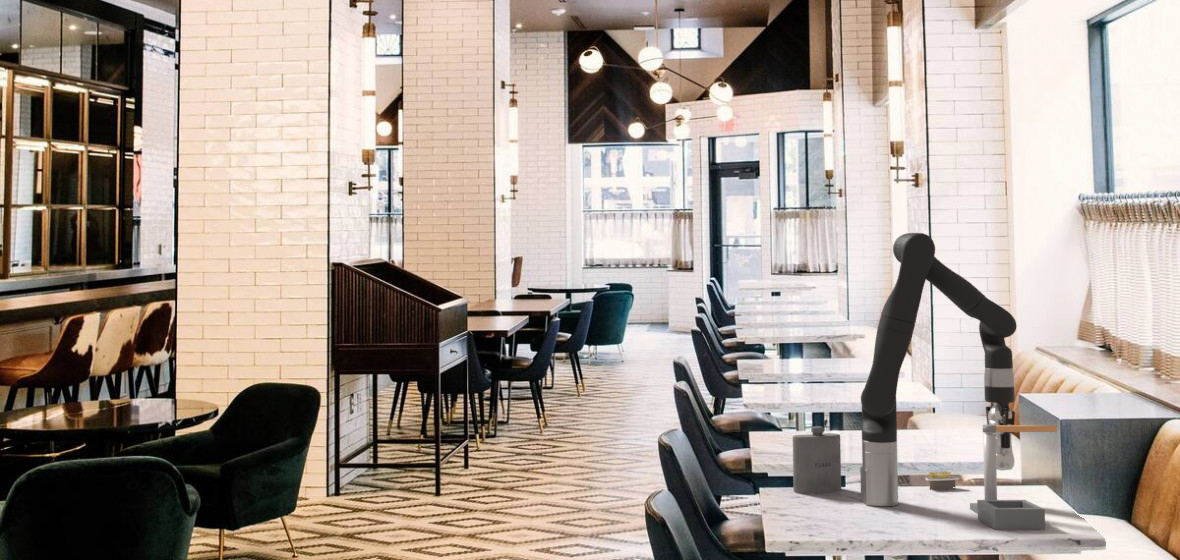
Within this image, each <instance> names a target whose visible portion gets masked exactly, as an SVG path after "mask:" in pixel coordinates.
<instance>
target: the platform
mask: <svg viewBox="0 0 1180 560" xmlns="http://www.w3.org/2000/svg"><path fill="white" fill-rule="evenodd" d="M928 474H929V475H927V476H925V481H927V482H929V490H930V491H931V489H932V491H933V490H934V491H935V489H938V490H954V489H953V487H955V488H956V481H959V480H960V477H959V476H954V475H952V476H951V472H949V471H948V470H947V471H945V470H944V471H941V470H940V471H929V473H928Z"/></svg>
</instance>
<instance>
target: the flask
mask: <svg viewBox="0 0 1180 560" xmlns="http://www.w3.org/2000/svg"><path fill="white" fill-rule="evenodd" d="M810 429H811V430H810V431H811V433H812V434H795V435H793V436H792V475H793V476H792V478H793V479H792V482H793V488H792V489H793V493H796V494H801V495H802V494H803V495H813V494H812V493H818V494H828V493H836V492H840V491H842V466H841V465H842V463H841V462H842V460H841V457H842V456H841V454H842V453H841V435H840V434H839V433H833V432H832V433H831V432H830V433H829V432H828V433H825V429H824V427H823V426H819V425H818V426H817V425H816V426H812V427H811V428H810Z"/></svg>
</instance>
